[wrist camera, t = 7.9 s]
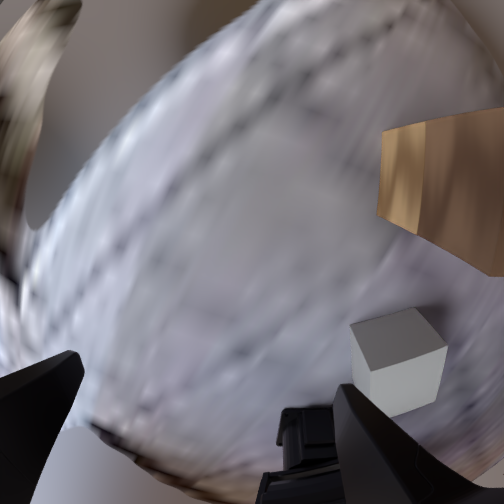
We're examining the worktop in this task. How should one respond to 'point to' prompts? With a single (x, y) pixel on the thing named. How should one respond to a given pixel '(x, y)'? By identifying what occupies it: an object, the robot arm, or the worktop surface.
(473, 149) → the walnut block
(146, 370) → the worktop surface
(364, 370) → the grey block
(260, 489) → the robot arm
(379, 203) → the oak block
